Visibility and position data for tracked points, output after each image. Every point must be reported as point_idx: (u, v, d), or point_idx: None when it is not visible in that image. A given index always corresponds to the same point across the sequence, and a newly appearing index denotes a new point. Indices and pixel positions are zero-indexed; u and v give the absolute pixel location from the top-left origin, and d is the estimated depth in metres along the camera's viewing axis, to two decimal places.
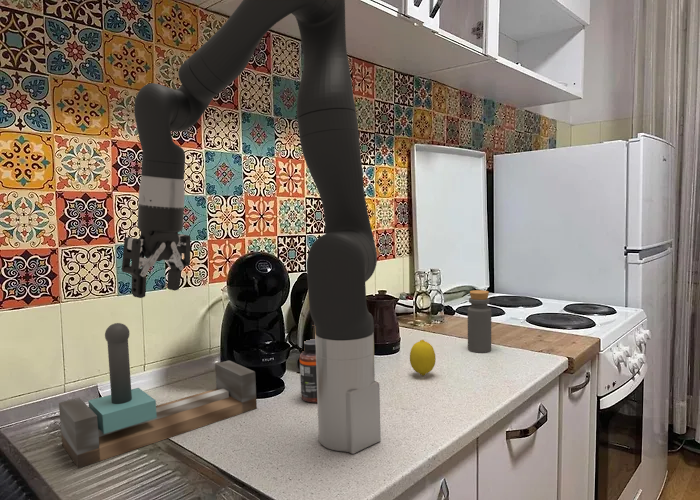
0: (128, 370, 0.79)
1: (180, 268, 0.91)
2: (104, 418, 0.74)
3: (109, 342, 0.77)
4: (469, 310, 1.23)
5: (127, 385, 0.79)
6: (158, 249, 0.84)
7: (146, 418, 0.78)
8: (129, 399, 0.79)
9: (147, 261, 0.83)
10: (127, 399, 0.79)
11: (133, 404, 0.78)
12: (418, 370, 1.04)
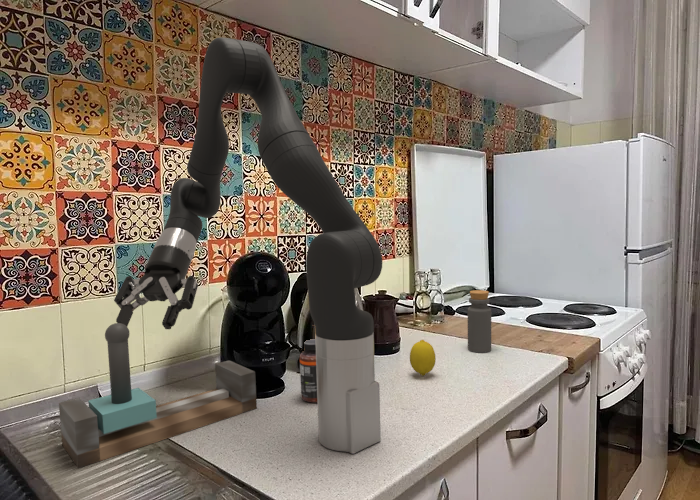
0: (128, 370, 0.79)
1: (171, 303, 0.87)
2: (104, 418, 0.74)
3: (109, 342, 0.77)
4: (469, 310, 1.23)
5: (127, 385, 0.79)
6: (144, 282, 0.90)
7: (146, 418, 0.78)
8: (129, 399, 0.79)
9: None
10: (127, 399, 0.79)
11: (133, 404, 0.78)
12: (418, 370, 1.04)
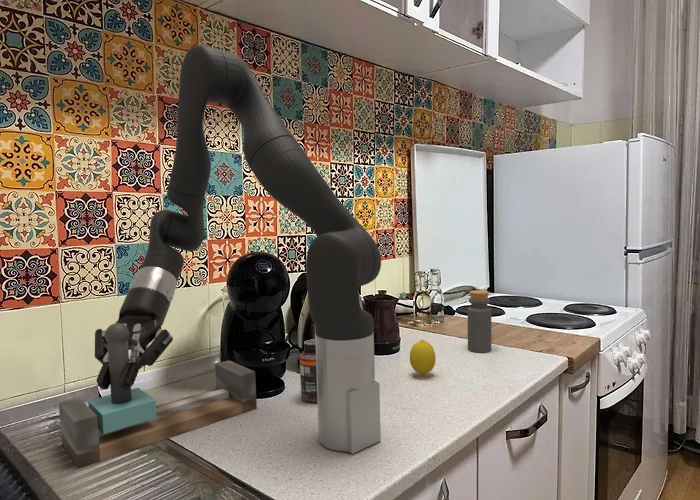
0: None
1: (130, 360, 0.79)
2: (104, 418, 0.74)
3: (109, 342, 0.77)
4: (469, 310, 1.23)
5: None
6: None
7: (145, 418, 0.78)
8: (129, 399, 0.79)
9: None
10: (127, 399, 0.79)
11: (132, 404, 0.78)
12: (418, 370, 1.04)
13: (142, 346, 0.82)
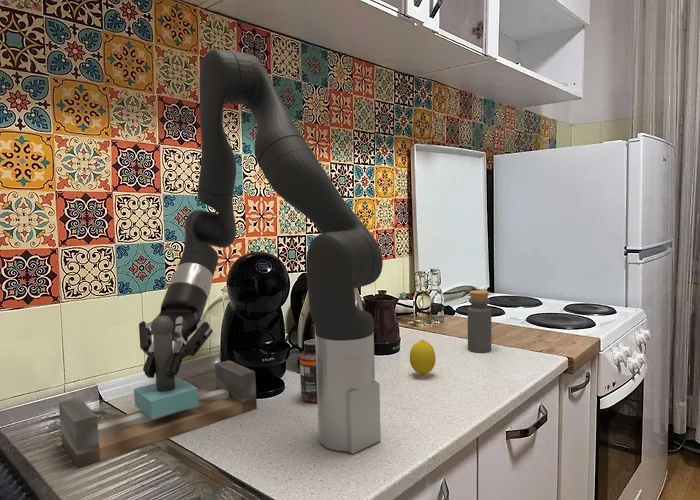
0: None
1: (174, 350, 0.84)
2: (152, 404, 0.79)
3: (155, 333, 0.82)
4: (469, 310, 1.23)
5: None
6: None
7: (189, 405, 0.83)
8: (173, 387, 0.84)
9: None
10: (171, 387, 0.84)
11: (177, 392, 0.83)
12: (418, 370, 1.04)
13: (184, 337, 0.87)
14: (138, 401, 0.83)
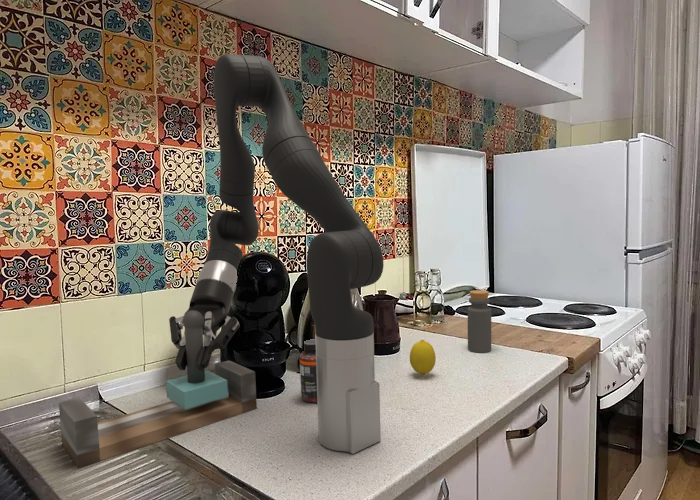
0: None
1: (205, 343, 0.87)
2: (185, 395, 0.83)
3: (186, 327, 0.86)
4: (469, 310, 1.23)
5: None
6: None
7: (219, 396, 0.87)
8: (203, 379, 0.88)
9: None
10: (202, 379, 0.87)
11: (208, 383, 0.86)
12: (418, 370, 1.04)
13: (213, 332, 0.90)
14: (170, 392, 0.87)
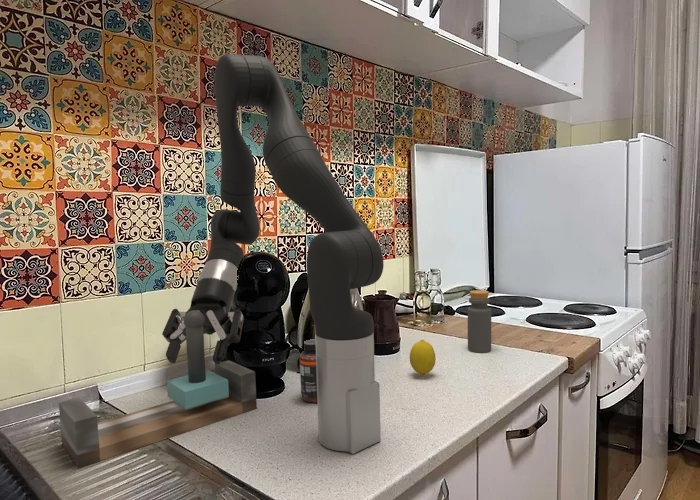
0: (203, 353, 0.88)
1: (220, 337, 0.88)
2: (186, 394, 0.83)
3: (187, 327, 0.86)
4: (469, 310, 1.23)
5: (203, 366, 0.87)
6: None
7: (220, 396, 0.87)
8: (204, 379, 0.88)
9: None
10: (203, 379, 0.87)
11: (209, 383, 0.86)
12: (418, 370, 1.04)
13: (214, 330, 0.91)
14: (171, 392, 0.87)
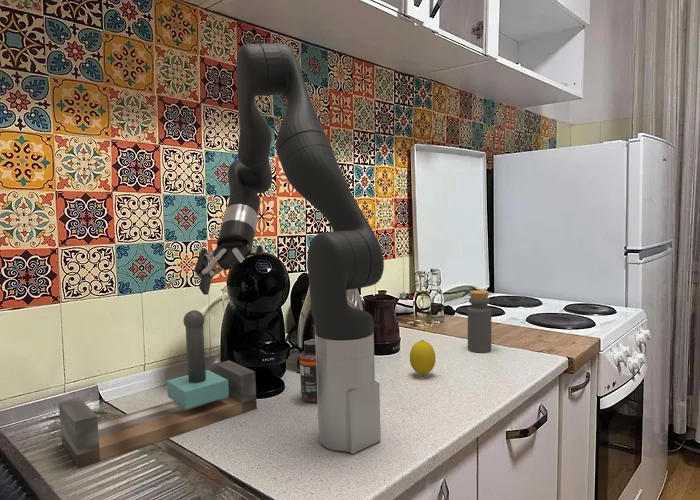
0: (203, 353, 0.88)
1: None
2: (186, 394, 0.83)
3: (187, 327, 0.86)
4: (469, 310, 1.23)
5: (203, 366, 0.87)
6: (218, 253, 1.02)
7: (220, 396, 0.87)
8: (204, 379, 0.88)
9: None
10: (203, 379, 0.87)
11: (209, 383, 0.86)
12: (418, 370, 1.04)
13: None
14: (171, 392, 0.87)
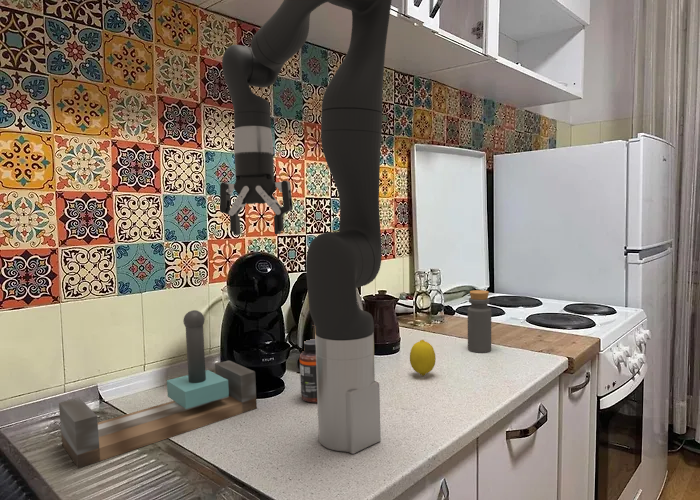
0: (203, 353, 0.88)
1: (276, 212, 0.95)
2: (186, 394, 0.83)
3: (187, 327, 0.86)
4: (469, 310, 1.23)
5: (203, 366, 0.87)
6: (241, 192, 0.95)
7: (220, 396, 0.87)
8: (204, 379, 0.88)
9: None
10: (203, 379, 0.87)
11: (209, 383, 0.86)
12: (418, 370, 1.04)
13: None
14: (171, 392, 0.87)
